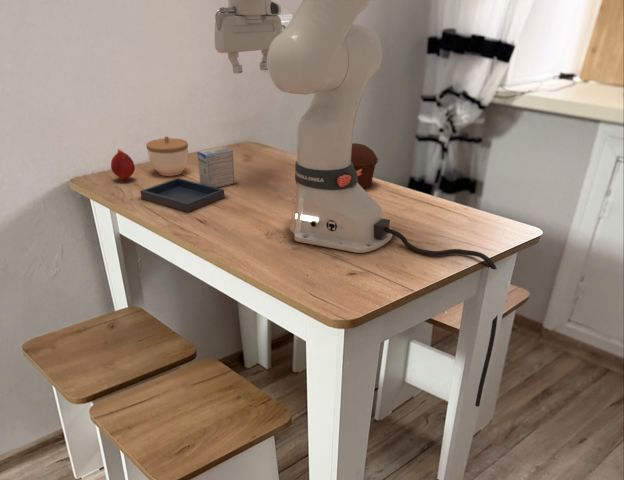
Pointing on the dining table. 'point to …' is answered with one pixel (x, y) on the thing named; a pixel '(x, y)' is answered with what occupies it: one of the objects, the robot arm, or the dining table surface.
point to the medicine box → (216, 167)
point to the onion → (122, 165)
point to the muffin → (363, 163)
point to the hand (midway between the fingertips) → (251, 71)
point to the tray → (182, 194)
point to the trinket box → (168, 155)
